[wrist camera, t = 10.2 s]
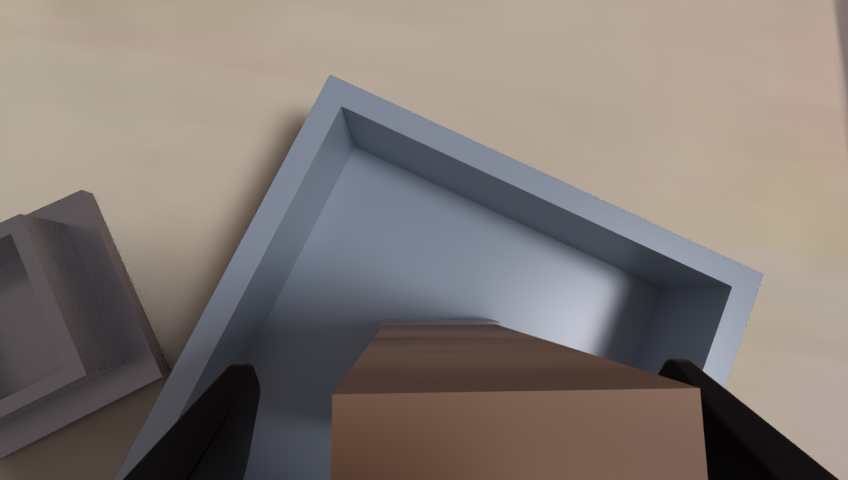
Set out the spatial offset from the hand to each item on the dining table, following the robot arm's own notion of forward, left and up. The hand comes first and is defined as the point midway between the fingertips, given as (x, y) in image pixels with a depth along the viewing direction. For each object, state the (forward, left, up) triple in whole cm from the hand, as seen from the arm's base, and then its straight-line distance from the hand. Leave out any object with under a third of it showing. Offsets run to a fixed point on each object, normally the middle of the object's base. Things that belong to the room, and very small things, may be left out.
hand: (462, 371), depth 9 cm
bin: (-1, -1, -8) cm, 8 cm away
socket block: (-6, +14, -8) cm, 18 cm away
